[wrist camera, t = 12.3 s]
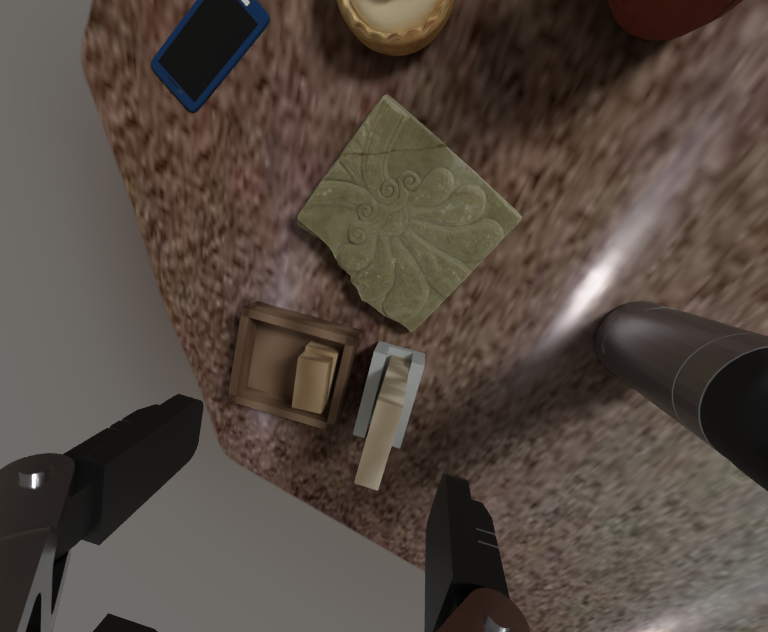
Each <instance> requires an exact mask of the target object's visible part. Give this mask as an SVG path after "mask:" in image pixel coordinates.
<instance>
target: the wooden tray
mask: <svg viewBox="0 0 768 632" xmlns="http://www.w3.org/2000/svg"><path fill="white" fill-rule="evenodd" d="M360 334H361V330H359V329H356V328H352V327H348V326H345V325H341V324H338V323H334V322H330V321H327V320H323V319H320V318H316V317H312V316H309V315H305V314H301V313H298V312H294V311H291V310H287V309H283V308H280V307H276V306H273V305H269V304H265V303H262V302H258V301H257V302H254V303H252V304H249V305H246V306H244V307H242V310H241V317H240V323H239V329H238V336H237V342H236V348H235V355H234V361H233V367H232V374H231V380H230V386H229V392H228V399H227V401H230V402H233V403H237V404H240V405H243V406H247V407H250V408H253V409H257V410H260V411H264V412H267V413H270V414H274V415H277V416H280V417H284V418H287V419H291V420H294V421H297V422H301V423H304V424H307V425H311V426H314V427H318V428H321V429H324V430H328V431H331V432H333V431H334V429H335V426H336V424H337V422H338V420H339V418H340V416H341V412H342V408H343V404H344V400H345V396H346V392H347V387H348V383H349V379H350V375H351V371H352V367H353V363H354V359H355V355H356V350H357V346H358V342H359V338H360ZM312 340H313V341H316V342H320V343H323V344H327V345H330V346H334V347H337V348H341V349H342V352H341V356H340V360H339V364H338V369H337V373H336V377H335V382H334V386H333V390H332V394H331V398H330V400H329V402H328V403H327V405H326V406H325V408H324V410H323V411H322V413H321V414H319V413H315V412H310V411H306V410H301V409H297V408H292V401H293V393H294V386H295V378H296V370H297V362H298V357H299V356H300V355H301V354H302V353H303V352H304V351H305V348H306V345H307V344H308V343H310V342H311V341H312Z"/></svg>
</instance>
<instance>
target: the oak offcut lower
mask: <svg viewBox="0 0 768 632" xmlns="http://www.w3.org/2000/svg"><path fill="white" fill-rule="evenodd" d="M305 351H306V352H311V353H316V354H320V355H325V356H330V357H333V364H332V370H331V377H330V383H329V390H328V396H327V403H328V402H329V400H330V398H331V394H332V390H333V386H334V382H335V377H336V373H337V369H338V364H339V360H340V356H341V352H342V349H341V348H337V347H334V346H330V345H327V344H323V343H320V342H316V341H313V340H312V341H311V342H310V343H308V344H307V345H306V348H305ZM327 403H326V405H327Z"/></svg>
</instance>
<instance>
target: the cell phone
mask: <svg viewBox="0 0 768 632" xmlns="http://www.w3.org/2000/svg"><path fill="white" fill-rule="evenodd" d="M269 22H270V17H269V15H268V13H267V12H266V11H265V9H264V8H263V7H262V6H261V5H260V3H259V2H258V1H257V0H196V2H195V3H194V4H193V6H192V7H191V8H190V10H189V11H188V12H187V14H186V15H185V16H184V18H183V19H182V20H181V22H180V23H179V24H178V26H177V27H176V28H175V30H174V31H173V32H172V34H171V35H170V36H169V38H168V39H167V40H166V42H165V43H164V44H163V46H162V47H161V48H160V50H159V51H158V52H157V54H156V55H155V57H154V58H153V60H152V62H151V66H152V69H153V70H154V72H155V73H156V74H157V75H158V77H159V78H160V79H161V80H162V81H163V82H164V83H165V84H166V85H167V87H168V88H169V89H170V90H171V91H172V92H173V93H174V94H175V96H176V97H177V98H178V99H179V100H180V101H181V102H182V103H183V105H184V106H185V107H186V108H187V109H189V110H190V111H191V112H193V113H195V112H197V111H198V110H199V109H200V108H201V107H202V106H203V105H204V103H205V102H206V101H207V100H208V98H209V97H210V96H211V95H212V94H213V92H214V91H215V90H216V89H217V87H218V86H219V85H220V84H221V83H222V81H223V80H224V79H225V78H226V76H227V75H228V74H229V73H230V71H231V70H232V69H233V68H234V67H235V65H236V64H237V63H238V62H239V60H240V59H241V58H242V57H243V55H244V54H245V53H246V52H247V51H248V49H249V48H250V47H251V46H252V44H253V43H254V42H255V41H256V39H257V38H258V37H259V36H260V35H261V33H262V32H263V31H264V30H265V28H266V27H267V25H268V24H269Z"/></svg>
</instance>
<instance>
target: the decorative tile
mask: <svg viewBox="0 0 768 632" xmlns="http://www.w3.org/2000/svg"><path fill="white" fill-rule="evenodd" d="M297 219H298V220H297V222H296V223H297V225H298V226H299V227H301V228H302V229H304V230H305V231H306V232H307V233H309V234H311V235H313V236H314V237H317V238H319V239H321V240H322V241H324V242H325V244H326V245H328V246H329V248H330V249H331V251H332V252H333V255H334V257H335V259H336V260H337V262H338V264H339V266H340V267H341V268H342V269H344V270H345V271H346V272H347V273H348V274H349V275H351V282H352V284H353V285H354V286H355V287H356V289H357V290H358V293H359V295H360V297H361V300H362V301H364V302H366V303H368V304H370V305H371V306H372V307H374V308H375V309H377V310H378V311H379V312H380V313H381V314H382V315H384V316H385V317H388V318H390V319H392V320H394V321H397V322H398V323H400V324H402V325H403V326H405V327H406V328H407V329H408V330H409V331H410V332H414V331H415V330H416V329H417V328H418V327H419V326H420V325H421V324H422V323H423V322H424V321H425V320H426V319H427V318H428V317H429V316H430V315H431V314H432V313H433V311H434V310H435V309H436V308H437V307H438V306H439V305H440V304H441V303H442V302H443V301H444V300H445V299H446V298H447V297H448V296H449V295H450V294H451V293H452V292H453V291H454V290H455V289H456V288H457V287H458V286H459V285H460V284H461V283H462V282H463V281H464V280H465V279H466V278H467V277H468V276H469V274H470V273H471V272H472V271H473V270H474V269H475V268H476V267H477V266H478V265H479V264H480V263H481V262H482V261H483V260H484V259H485V258H486V257H487V256H488V254H489V253H490V252H491V251H492V250H493V249H494V248H495V247H496V246H497V245H498V244H499V243H500V242H501V240H502V239H503V238H504V237H505V236H506V235H507V234H508V233H509V232H510V231H511V230H512V229H513V228H514V227H515V226H516V225H517V224H518V223H519V222H520V221H521V220H522V216H521V215H520V214H519V213H518V212H517V211H516V210H515V209H514V208H513V207H512V206H511V205H510V204H509V203H508V202H507V201H506V200H504V199H503V198H502V197H501V196H500V195H499V194H498V193H497V192H496V191H495V190H494V189H493V188H492V187H491V186H490V185H489V184H488V183H486V182H485V181H484V180H483V179H482V178H481V177H480V176H479V175H478V174H477V173H476V172H475V171H474V170H473V169H471V168H470V167H469V166H468V165H467V164H466V163H465V162H464V161H463V160H462V159H460V158H459V157H458V156H457V155H456V154H455V153H453V152H452V151H451V150H450V149H449V148H448V147H447V146H446V145H445V144H444V143H443V142H442V141H441V140H440V139H439V138H438V137H437V136H435V135H434V134H433V133H432V132H431V131H430V130H429V129H428V128H426V127H425V126H424V125H423V124H422V123H421V122H420V121H418V120H417V119H416V118H415V117H414V116H413V115H411V114H410V113H409V112H408V111H407V110H406V109H405V108H403V107H402V106H401V105H400V104H399V103H397V102H396V101H395V100H394V99H393V98H392V97H390V96H389V95H384V96H383V97H382V98H381V100H380V101H379V102H378V103H377V104H376V106H375V107H374V108H373V109H372V111H371V112H370V114H369V115H368V117H367V118H366V119H365V121H364V122H363V123H362V125H361V126H360V128H359V129H358V131H357V132H356V133H355V135H354V136H353V138H352V139H351V141H350V142H349V143H348V144H347V146H346V147H345V149H344V150H343V151H342V153H341V154H340V156H339V158H338V159H337V160H336V162H335V163H334V164H333V166H332V167H331V168H330V169H329V171H328V172H327V174H326V175H325V176H324V178H323V179H322V181H321V182H320V183H319V185H318V186H317V188H316V189H315V191H314V192H313V193H312V195H311V196H310V198H309V199H308V201H307V202H306V204H305V205H304V207H303V208H302V210H301V211H300V213H299V214H298V216H297Z"/></svg>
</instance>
